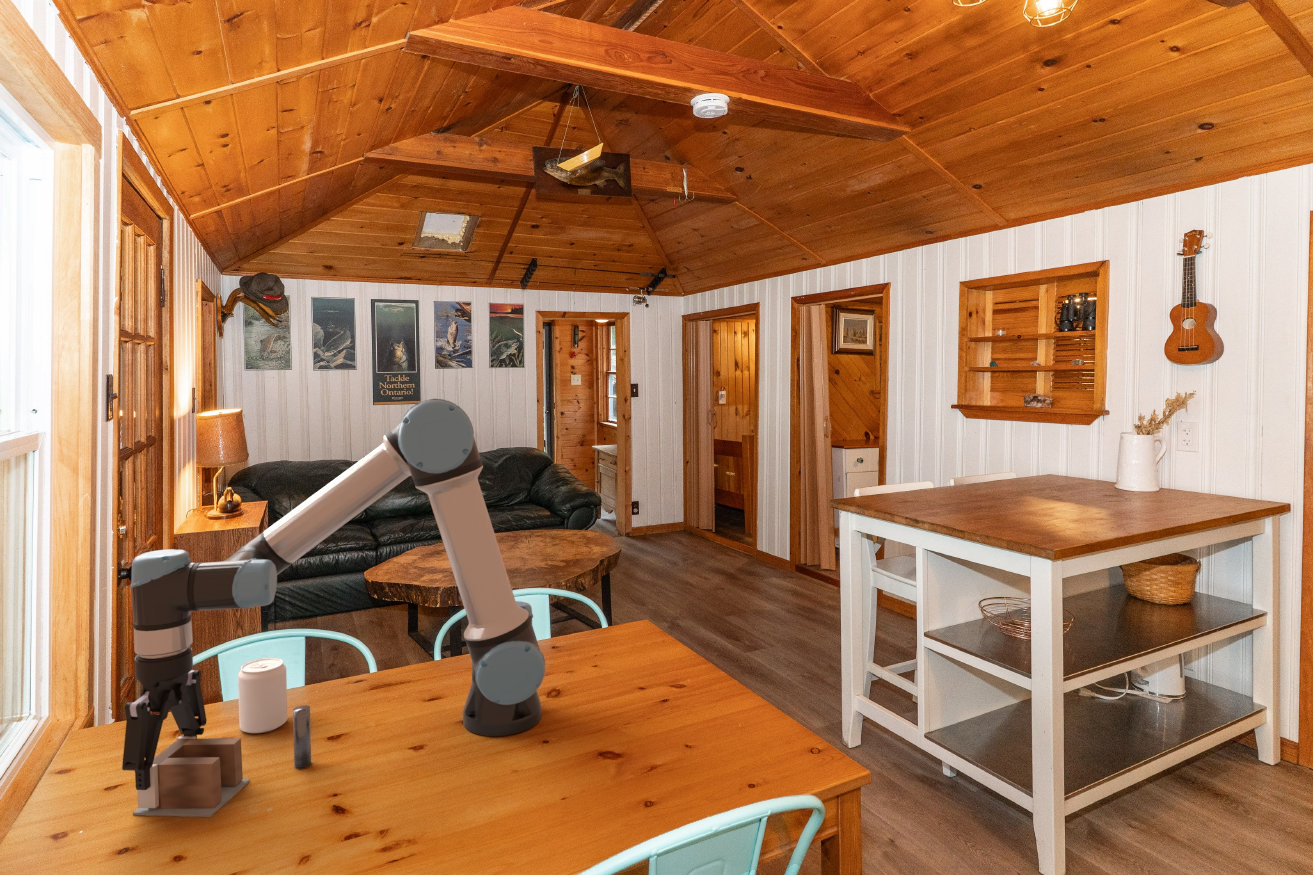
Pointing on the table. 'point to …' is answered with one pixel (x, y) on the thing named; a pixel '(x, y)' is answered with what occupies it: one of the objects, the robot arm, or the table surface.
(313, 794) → the table surface
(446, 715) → the table surface
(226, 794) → the mat
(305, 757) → the post
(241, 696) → the beverage can
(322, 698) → the table surface
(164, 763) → the c link
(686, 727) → the table surface
